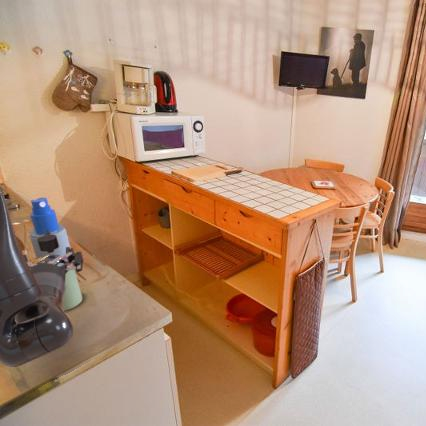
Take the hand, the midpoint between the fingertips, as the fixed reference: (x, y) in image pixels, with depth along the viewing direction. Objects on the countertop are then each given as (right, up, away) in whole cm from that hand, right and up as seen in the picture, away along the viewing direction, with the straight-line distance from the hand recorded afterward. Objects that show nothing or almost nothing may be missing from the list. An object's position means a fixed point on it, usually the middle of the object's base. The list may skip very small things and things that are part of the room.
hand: (47, 253), depth 80 cm
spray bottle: (-19, -9, +26) cm, 33 cm away
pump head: (-4, +1, +6) cm, 7 cm away
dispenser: (-5, -16, +12) cm, 20 cm away
